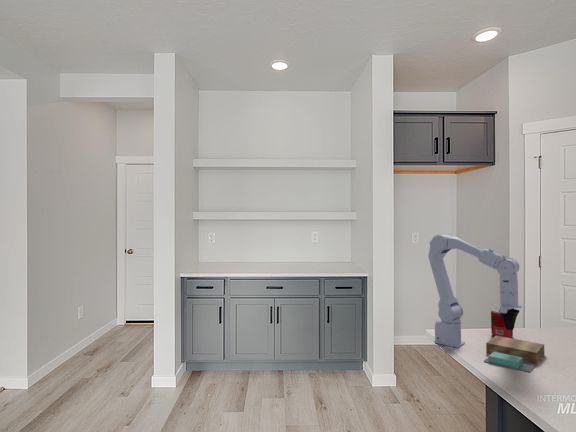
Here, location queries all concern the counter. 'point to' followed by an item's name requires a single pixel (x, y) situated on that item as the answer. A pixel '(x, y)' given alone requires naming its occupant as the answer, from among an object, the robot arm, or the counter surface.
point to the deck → (516, 348)
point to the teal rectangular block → (505, 359)
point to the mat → (524, 367)
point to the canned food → (499, 325)
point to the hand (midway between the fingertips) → (509, 329)
